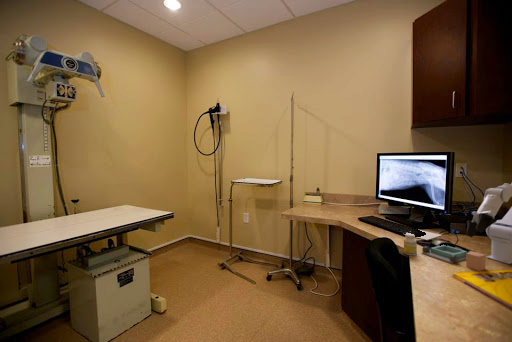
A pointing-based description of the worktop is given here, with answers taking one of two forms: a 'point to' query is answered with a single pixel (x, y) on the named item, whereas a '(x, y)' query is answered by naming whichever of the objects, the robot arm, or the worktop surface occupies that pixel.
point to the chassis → (445, 253)
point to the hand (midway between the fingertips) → (473, 233)
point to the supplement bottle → (410, 244)
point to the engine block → (475, 260)
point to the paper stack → (429, 235)
